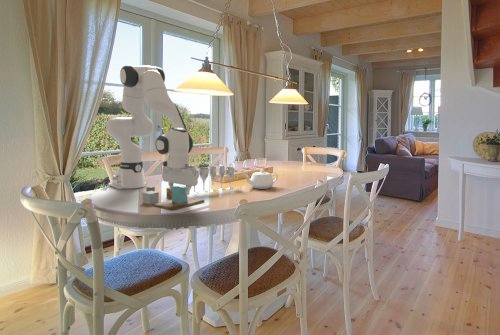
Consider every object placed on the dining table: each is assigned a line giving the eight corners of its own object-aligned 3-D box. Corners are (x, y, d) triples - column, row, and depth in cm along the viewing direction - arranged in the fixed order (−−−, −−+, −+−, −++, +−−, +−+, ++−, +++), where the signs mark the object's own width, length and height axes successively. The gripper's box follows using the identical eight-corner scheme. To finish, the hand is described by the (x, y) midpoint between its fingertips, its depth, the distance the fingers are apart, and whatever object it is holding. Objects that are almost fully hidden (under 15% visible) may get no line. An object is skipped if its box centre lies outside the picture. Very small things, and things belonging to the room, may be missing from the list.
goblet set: (193, 194, 181) (192, 169, 179) (187, 192, 185) (187, 168, 183) (237, 188, 198) (237, 165, 196) (231, 187, 202) (231, 164, 200)
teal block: (171, 201, 161) (171, 187, 160) (180, 199, 165) (179, 185, 164) (179, 203, 158) (179, 188, 157) (187, 201, 162) (187, 186, 161)
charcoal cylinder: (144, 197, 173) (144, 187, 172) (151, 195, 176) (151, 186, 175) (150, 198, 171) (149, 188, 170) (156, 197, 174) (156, 187, 173)
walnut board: (154, 205, 157) (154, 203, 157) (186, 198, 173) (186, 196, 173) (172, 210, 150) (172, 208, 150) (204, 201, 166) (204, 199, 166)
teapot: (272, 184, 213) (272, 167, 211) (282, 188, 200) (283, 170, 198) (238, 186, 204) (238, 168, 203) (247, 191, 192) (247, 172, 190)
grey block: (143, 203, 162) (142, 192, 161) (151, 201, 166) (151, 190, 165) (150, 204, 159) (149, 194, 158) (158, 202, 163) (158, 192, 162)
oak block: (166, 197, 173) (166, 188, 172) (173, 196, 177) (172, 186, 176) (174, 199, 171) (174, 189, 170) (180, 197, 175) (180, 187, 174)
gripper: (200, 165, 155) (200, 195, 157) (169, 160, 167) (170, 189, 169) (190, 166, 150) (190, 197, 152) (159, 162, 162) (160, 191, 164)
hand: (179, 193), depth 161 cm, fingers open, 8 cm apart
